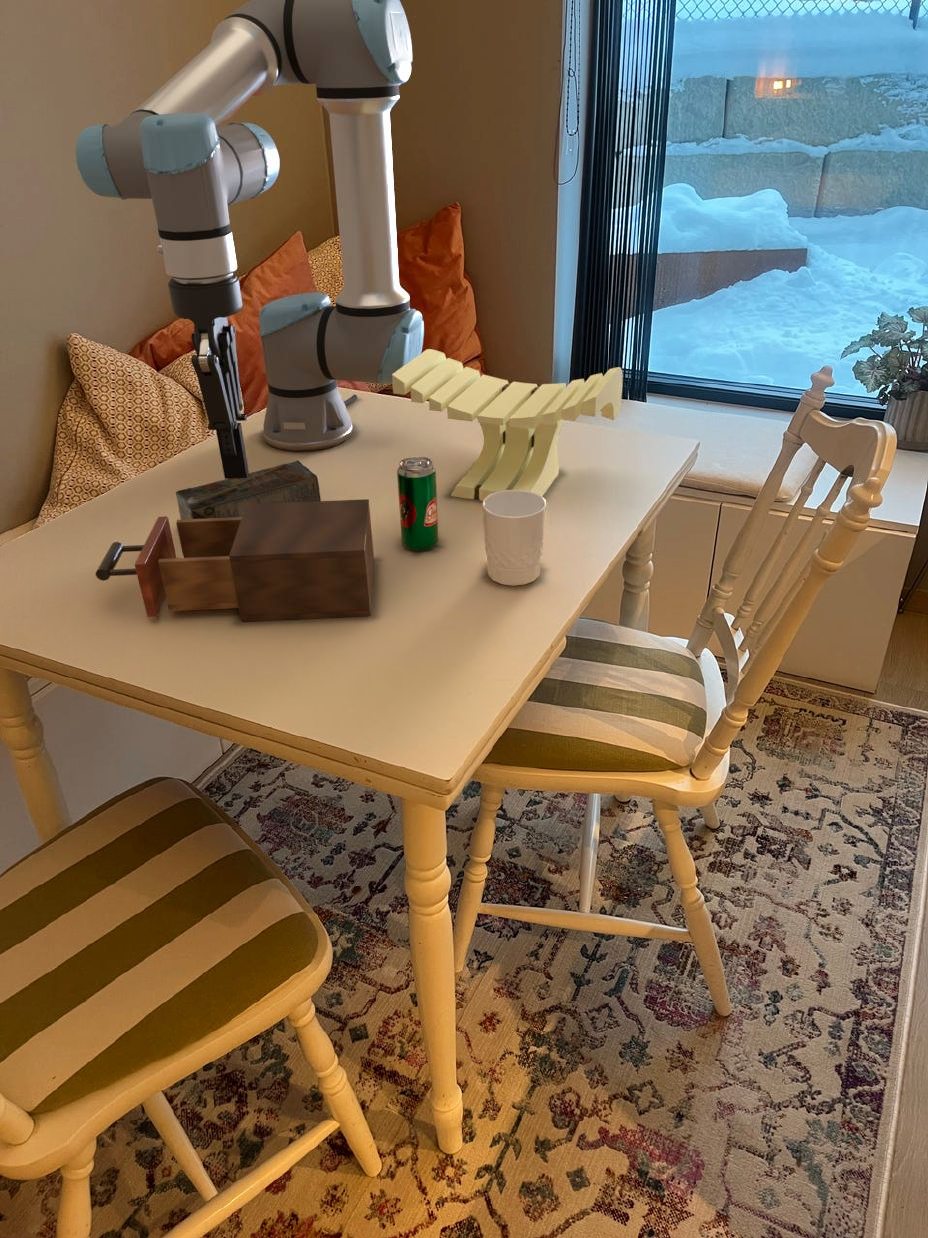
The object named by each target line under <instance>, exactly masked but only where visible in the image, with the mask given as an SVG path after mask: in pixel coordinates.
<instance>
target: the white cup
mask: <svg viewBox="0 0 928 1238" xmlns="http://www.w3.org/2000/svg"><path fill="white" fill-rule="evenodd" d="M481 505H482V521H483V535H484V548H485V555H486V562H487V563H486V565H487V567H486V568H487V575H488V577H489V578H490V579H491V580H492V581H493V582H496V583H498V584H500V585H504V586H512V587H513V586H524V585H527V584H530V583H533V582H534V581H536V579H538V578H539V576H540V571H541V561H542V555H543V547H544V538H545V527H546V524H545V523H546V511H547V500H546V499H545V498H544V497H543V496H540V495H538V494H536V493H533V492H530V491H525V490H504V491H499V492H495V493H493V494H490V495H489V496H487V497H486V498H485V499H484V500H483V501H482V503H481Z"/></svg>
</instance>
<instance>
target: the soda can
mask: <svg viewBox="0 0 928 1238" xmlns="http://www.w3.org/2000/svg"><path fill="white" fill-rule="evenodd" d="M398 465H399V466H398V468H397V469H396V479H397V492H398V506H399V507H398V509H399V522H400V523H399V525H400V538H401V544H402V545H403V546H404V547H405V548H406V549H408V550H409V551H413V552H425V551H428V550H431V549H433V548H435V547H436V545H438V543H439V518H438V516H439V515H438V495H437V494H438V492H437V491H438V490H437V470H436V467H435V466H434V464H433V460H432V459H431V458H428V457H426V456H410V457H409V456H408V457H406V458H403V459H402V460H400V462H399V464H398Z"/></svg>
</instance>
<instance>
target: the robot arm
mask: <svg viewBox="0 0 928 1238" xmlns="http://www.w3.org/2000/svg"><path fill="white" fill-rule="evenodd" d="M412 63H413V44H412V37H411V30H410V26H409V22H408V18H407V15H406V12H405V9H404V7H403V5H402V2H401V1H400V0H249V1H248V2H246V3H243V5H241V6H240V7H238V8H237V9H236V10H234V11H232V12H231V13H230V14H228V15H227V16H226V17H225V18H224V19H223V20H222V21H220V22H219V23H218V24H217V25H216V27H215V28H214V30H213V32H212V35H211V39H210V43H209V44H208V45H207V46H206V47H204V48H203V50H201V51H200V52H199V53H198V54H197V55H196V56H195V57H193V58H192V59H191V60H190V61H189V62H188V63H187V64H186V65H184V66H183V67H182V68H181V69H180V70H179V71H178V72H176V73H175V74H174V75H173V76H172V77H171V78H170V79H169V80H167V82H165V83H164V84H163V85H162V86H161V87H160V88H158V89H157V90H156V91H155V92H154V93H153V94H152V95H151V96H149V97H148V98H147V99H146V100H145V101H144V102H143V103H141V104H140V105H139V106H137V108H136V109H134V111H132V112H131V113H130V114H129V115H128V116H126V117H125V118H124V119H123V120H122V121H120V122H119V123H117V124H113V125H111V124H108V123H101V124H100V125H91V126H87V127H86V128H84V129H83V130H82V131H81V132H80V133H79V134H78V137H77V141H76V145H75V160H76V161H75V162H76V166H77V169H78V171H79V173H80V176H81V179H82V181H83V183H84V184H85V186H86V187H87V188H88V189H89V190H90V191H91V192H92V193H94V194H95V195H97V196H100V197H104V198H105V197H106V198H116V199H120V200H122V201H124V200H129V199H130V200H133V199H137V200H151V201H152V206H153V211H154V215H155V220H156V225H157V232H158V236H159V242H160V244H157V245H156V252H157V253H158V254H161V255H162V256H163V263H164V267H165V273H166V275H168V276H169V277H171V279H169V281H168V283H167V287H168V293H169V296H170V297H169V298H170V302H171V308H172V312H173V314H174V315H175V316H176V317H177V318H180V319H183V320H189V321H191V322H192V323H193V332H192V333H191V336H190V337H191V344H192V348H193V350H194V351H195V354H196V355H195V354H194V355H193V354H192V355H191V359H190V361H191V362H190V363H191V365H192V368H193V370H194V372H195V374H196V377H197V381H198V386H199V390H200V393H201V396H202V401H203V405H204V409H205V413H206V417H207V420H208V426H207V429H208V431H215V432H216V439H217V443H218V449H219V454H220V461H221V465H222V471H223V478H224V480H225V479H234V478H247V477H248V474H249V473H250V471H249V470H250V469H249V465H248V458H247V453H246V447H245V440H244V434H243V429H242V422H243V421H244V422H245V421H247V420H248V415H247V413H241V411H242V410H243V408H244V406H243V405H244V404H243V402H242V401H243V400H242V392H241V382H240V374H239V364H238V363H239V362H238V355H237V347H236V346H237V345H236V344H237V343H236V332H237V330H236V327H235V325H234V324H229V320H228V317H231V316H234V315H236V314H238V313H239V312H241V310H242V308H243V299H242V293H241V286H240V285H241V284H240V279H239V277H238V276H237V275H236V274H235V273H234V272H235V271H236V270H237V269H238V263H237V257H236V250H235V244H234V238H233V232H232V228H231V222H230V215H229V206H230V205H234V204H236V203H239V202H244V201H246V200H250V199H251V200H252V199H255V198H256V197H259V196H260V195H261V194H263V193H264V192H266V191H268V190H269V189H270V188H271V187H272V186H273V185H274V184H275V182H276V180H277V179H278V176H279V173H280V166H281V165H280V155H279V152H278V148H277V145H276V143H275V141H274V139H273V138H272V136H270V134H269V133H268V132H267V131H266V130H265V129H263V128H262V127H261V126H259V125H257V124H255V123H252V122H230V123H228V124H227V125H225V123H226V122H227V121H228V120H229V119H230V118H231V117H232V116H233V115H234V114H235V113H236V112H237V111H238V110H239V109H241V107H242V106H243V105H244V104H245V103H246V102H247V101H248V100H249V99H250V98H251V97H257V96H261V95H265V94H266V93H268V92H269V91H271V89H272V88H273V87H276V86H282V85H301V84H302V85H315V90H316V101H317V102H318V103H319V104H320V105H321V106H323V108H324V109H325V110H326V112H327V113H328V115H329V117H328V118H329V127H330V129H329V130H330V139H331V152H332V163H333V177H334V185H335V197H336V198H335V199H336V210H337V222H338V231H339V232H338V233H339V244H340V256H341V266H342V267H341V268H342V278H343V288H342V289H341V291H339V293H338V294H337V295H336V296H335V305H331V302H332V301H331V299H330V297H329V295H328V294H326V293H325V292H324V293H323V292H305V293H298V294H293V295H288V296H284V297H280V298H277V299H274V300H271V301H269V302H268V303H266V304H264V305H263V306H262V307H261V308H260V311H259V313H258V325H259V334H258V335H259V337H260V342H261V346H262V347H261V349H262V355H263V362H264V369H265V375H266V381H267V388H268V399H267V405H266V410H265V415H264V421H263V428H262V431H263V439H264V441H265V442H266V443H267V444H268V445H269V446H271V447H273V448H276V449H279V450H285V451H294V452H306V451H307V452H308V451H318V450H323V449H327V448H331V447H334V446H337V445H339V444H342V443H344V442H345V441H347V440H349V439H350V437H351V436H352V435H353V423H352V418H351V416H350V414H349V411H348V408H347V406H349V405H351V404H352V403H353V402H355V401H356V400H357V399H358V395H357V394H353V395H352V396H350V397H349V398H348V399H346V400H343V397H342V395H341V393H340V390H339V386H338V385H339V384H338V381H342V382H343V381H344V382H354V383H355V382H356V383H368V384H369V383H370V384H378V385H379V386H382V385H383V386H384V385H393V382H392V374H393V373H395V372H396V371H397V370H399V369H400V368H402V367H403V366H404V365H406V364H407V363H409V362H410V361H411V360H413V359H414V358H416V357H417V356H418V355H420V354H421V353H422V351H423V346H424V338H425V337H424V336H425V324H424V323H425V322H424V319H423V315H422V313H421V311H419V310H416V308H411V302H410V294H409V293H408V292H407V291H406V290H405V289H404V288H403V287H402V286H401V284H400V278H399V277H400V276H399V260H398V259H399V258H398V241H397V223H396V207H395V206H396V205H395V190H394V189H395V185H394V170H393V167H394V165H393V150H392V133H391V116H390V115H391V114H390V112H391V110H392V108H393V107H394V106H395V104H396V103H397V102H398V101H399V99H400V86H401V85H402V84H405V83H407V82H408V80H409V79H410V77H411V73H412ZM241 421H242V422H241Z"/></svg>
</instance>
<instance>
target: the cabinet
mask: <svg viewBox="0 0 928 1238" xmlns="http://www.w3.org/2000/svg"><path fill="white" fill-rule="evenodd" d="M370 510H371V509H370V499H368V498H366V499H363V498H362V499H346V500H345V499H344V500H343V499H341V500H321V501H316V502H293V503H269V504H247V505H246V507H245V510H244V513H243V516H242V519H241V522H240V525H239V528H238V531H237V534H236V537H235V540H234V543H233V546H232V549H231V552H230V555H229V558H230V564H231V569H232V575H233V580H234V586H235V591H236V597H237V602H238V608H237V609H238V612H239V616H240V617H239V618H240V622H242V623H244V622H245V623H247V622H265V621H266V622H268V621H289V620H306V619H307V620H313V619H330V618H331V619H333V618H355V617H371V615H372V602H373V601H372V599H373V584H374V569H375V567H374V566H375V555H374V554H375V553H374V545H373V544H374V543H373V533H372V522H371V521H372V520H371V519H372V518H371V511H370Z"/></svg>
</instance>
